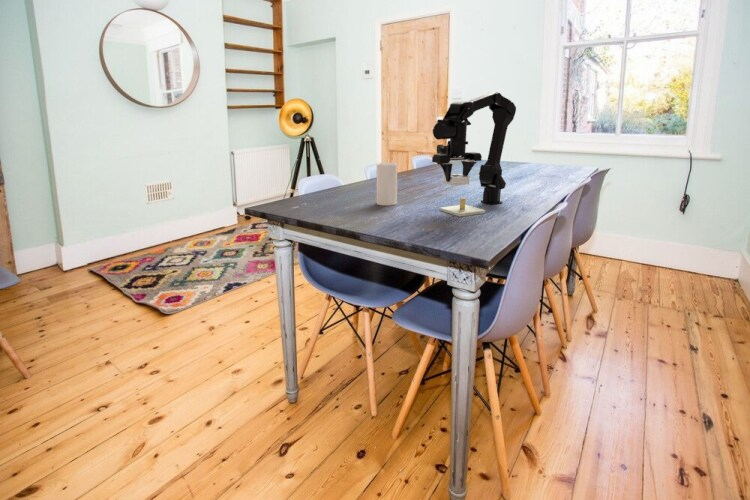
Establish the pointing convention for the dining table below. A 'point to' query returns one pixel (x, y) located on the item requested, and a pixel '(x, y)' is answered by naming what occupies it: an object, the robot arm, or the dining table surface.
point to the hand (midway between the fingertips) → (456, 181)
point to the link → (457, 179)
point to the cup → (386, 183)
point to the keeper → (462, 209)
